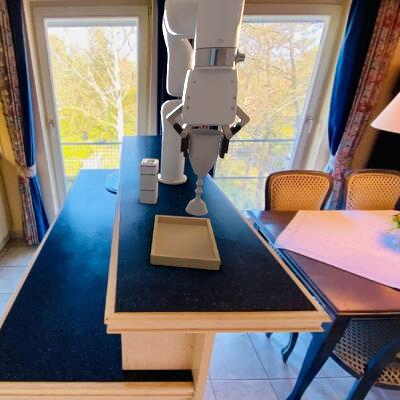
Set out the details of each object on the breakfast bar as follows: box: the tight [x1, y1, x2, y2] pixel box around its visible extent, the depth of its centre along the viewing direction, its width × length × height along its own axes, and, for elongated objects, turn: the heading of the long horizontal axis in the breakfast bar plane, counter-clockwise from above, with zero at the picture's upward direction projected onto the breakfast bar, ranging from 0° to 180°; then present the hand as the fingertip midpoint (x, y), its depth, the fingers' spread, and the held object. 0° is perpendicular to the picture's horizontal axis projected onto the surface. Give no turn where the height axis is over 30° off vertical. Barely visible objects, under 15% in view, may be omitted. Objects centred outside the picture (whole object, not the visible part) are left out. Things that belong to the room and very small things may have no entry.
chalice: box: [185, 128, 223, 217], centre depth 58 cm, size 7×7×18 cm
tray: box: [150, 214, 221, 271], centre depth 69 cm, size 20×16×3 cm
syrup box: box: [139, 158, 160, 205], centre depth 91 cm, size 6×6×14 cm
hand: (202, 155), depth 56 cm, fingers closed on chalice, 6 cm apart
